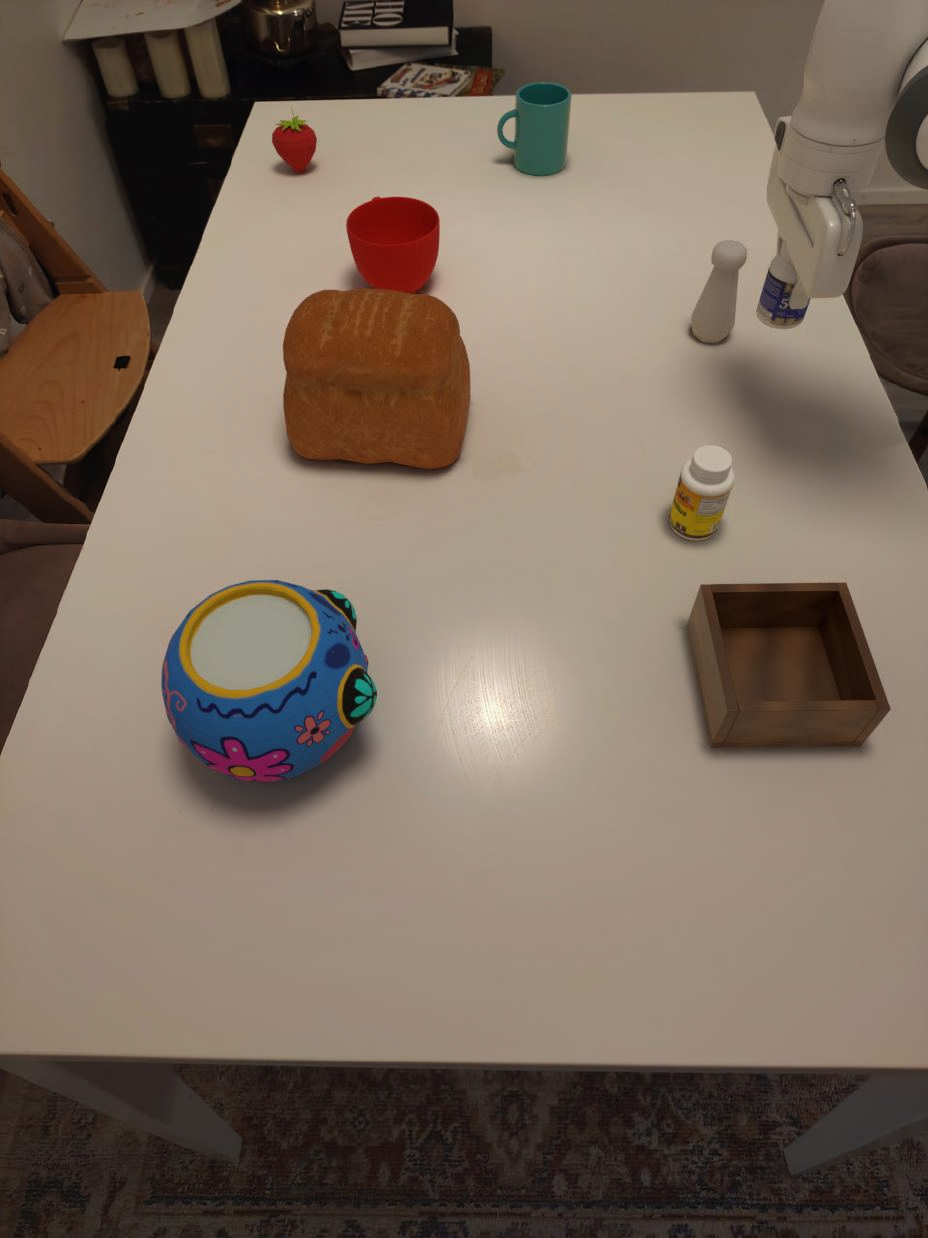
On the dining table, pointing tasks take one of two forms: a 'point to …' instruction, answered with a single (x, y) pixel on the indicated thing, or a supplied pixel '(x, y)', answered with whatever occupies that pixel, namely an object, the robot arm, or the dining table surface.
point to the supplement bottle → (702, 493)
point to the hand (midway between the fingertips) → (788, 287)
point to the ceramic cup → (394, 242)
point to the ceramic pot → (267, 679)
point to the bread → (376, 378)
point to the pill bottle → (779, 294)
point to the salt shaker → (719, 293)
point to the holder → (784, 666)
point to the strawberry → (295, 143)
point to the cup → (539, 128)
